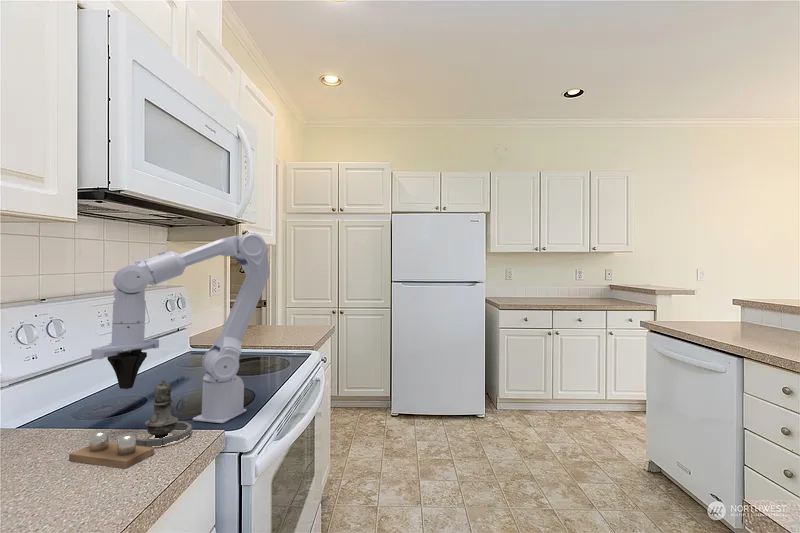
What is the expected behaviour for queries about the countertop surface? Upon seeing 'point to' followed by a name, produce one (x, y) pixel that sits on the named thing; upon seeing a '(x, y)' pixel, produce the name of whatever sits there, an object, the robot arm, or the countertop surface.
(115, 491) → the countertop surface
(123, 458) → the pin board
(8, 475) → the countertop surface
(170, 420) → the grey stone tall piece
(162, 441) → the segmented grey arc
